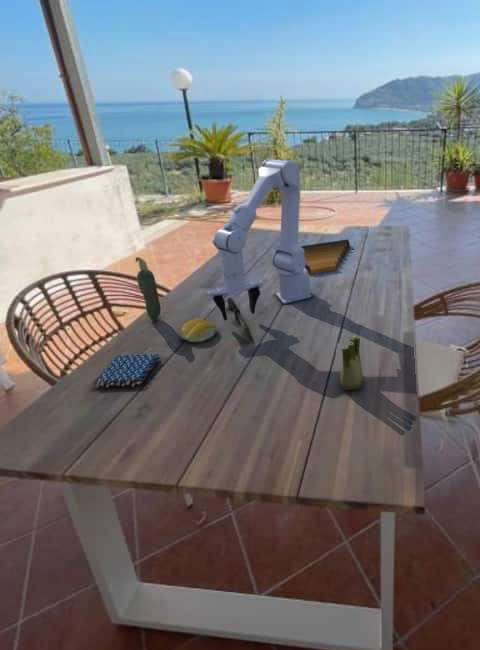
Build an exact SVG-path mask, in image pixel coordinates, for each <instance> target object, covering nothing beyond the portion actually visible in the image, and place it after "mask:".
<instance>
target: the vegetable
mask: <svg viewBox="0 0 480 650" xmlns="http://www.w3.org/2000/svg"><path fill="white" fill-rule="evenodd" d="M135 263H138V267H139V271H138V272H137V274H136V282H137V285H138V288H139V290H140V293H141V295H142V297H143V300H144V303H145V309H146V315H147V316H148V317H149V319H150V321H154V322H155V321H156V320H158V318H159V317H160V315H161V303H160V298H159V293H158V289H157V282H156V278H155V275H154V273H153V271H152V270H150V269H148V268H149V267H148V264H147V262H146V261H145V260H144V259H143V258H142V257H139V256H136V257H135Z"/></svg>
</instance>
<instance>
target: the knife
mask: <svg viewBox="0 0 480 650" xmlns="http://www.w3.org/2000/svg"><path fill="white" fill-rule="evenodd" d="M227 305H228V310H229V311H233V313H234V318H235V320H236V321H237V322H239V323H240V326H241V328H242V330H243V332H244V335H245V337H246V338H247V340H248V341H249V342H251V341H252V339H251V336H250V334H249V330H248V329H247V327H246V325H245V322H244V320H243V318H242V316H241V315H242V314H241V309H239V308H238V307H237V304H236V303H235V301H234V298H232V297H229V298H228V299H227Z"/></svg>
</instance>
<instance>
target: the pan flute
mask: <svg viewBox="0 0 480 650" xmlns="http://www.w3.org/2000/svg"><path fill="white" fill-rule="evenodd" d="M350 245H351V242H350V240H349V239H348V238H347V239H340V240H335V241H334V240H333V241H327V242H320V243H314V244H306V245H300V246H301V247H302V248H303V249H304V255H305V259H306V266H305V269H306V270H307V272H308V274H309V275H315V274H321V273H326V272H331V271H332V272H333V271H336V269H337V267H338V266H339V263H341V261H342V259H343V258H344V255H346V251H348V248H350Z"/></svg>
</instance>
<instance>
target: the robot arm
mask: <svg viewBox="0 0 480 650" xmlns="http://www.w3.org/2000/svg"><path fill="white" fill-rule="evenodd" d="M275 188H278V190H279V191H280V192H281V211H280V237H279V238H280V241H279V242H278V243H277V244H276V245H275V246H274V251H273V254H272V257H271V263H272V266H273V267H274V268H275V269H276V272H277V274H278V286H279V291H278V292H276V293H275V294H276V296H277V297H278V299H279V300H280V302H282V303H283V304H290V303H293V302H297V301H301V300H305V299H309V298H312V295H311V281H310V279H311V278H310V273H309V272H308V271H307V270H306V268H305V266H306V259H305V255H304V249H303V248H302V247H301V246H302V245H301V244H300V243H299V229H300V227H299V226H300V209H301V208H300V205H301V168H300V167H299V166H298V164H297V163H296V162H295V161H292V160H280V159H273V158H266V159H265V160H264V161H262V163H261V165H260V167H259V168H258V177H257V179H256V181H255V183H254V185H253V186H252V188H251V190H250V192H249V194H248V195H247V198H246V199H245V201H244V203H241V204H239V205H237V206H235V207H234V209H233V212H232V213H231V215H230V217H229V219H228V220H227V222H226V223H225V224H224V226H223V227H221V229H219V230H217V231H216V233H215V234H214V239H213V240H212V243H213V245H214V247H215V248H216V249H217V252H218V255H219V258H220V259H219V260H220V267H221V274H222V282H223V285H220V286H218V287H215V288H213V289H212V288H211V289H209V290H207V291H206V292H207V299H208V300H209V301H211V300H213V303H215V305H216V306H217V308H218V309H219V310H220V312H221V315H222V319H223V321H224V322H225V321H228V316H227V312H226V301H225V299H224V296H229V295H236V296H237V295H242V294H243V293H244V292H246V291H247V294H248V302H249V311H250V313H251V314H252V315H254V314H255V311H256V305H257V302H258V300H259V298H260V295H261V290H260V289H264V288H263V287H264V285H263V281H262V280H261V279H255V280H246V274H245V264H244V257H243V255H244V254H243V249H244V248H245V247H246V244H247V236H248V232H249V231H250V229H251V227H252V226H253V224H254V222H255V220H256V219H257V215H258V214H257V210H258V208H259V206H261V204H262V202H263V201H264V199H265V198H266V197H267V195H268V194H269V193H270V191H271V190H272V189H275Z"/></svg>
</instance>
